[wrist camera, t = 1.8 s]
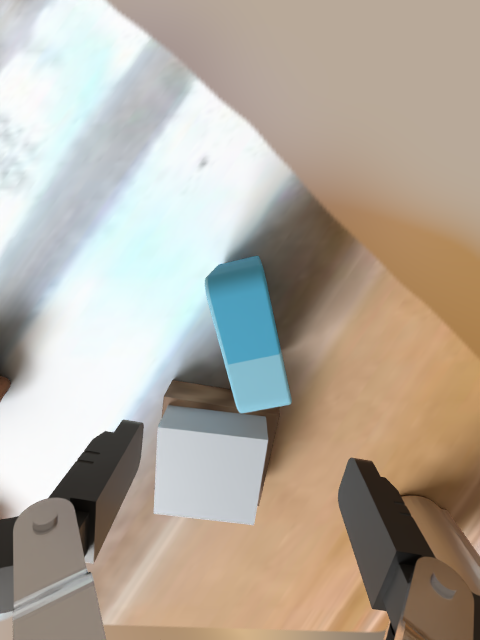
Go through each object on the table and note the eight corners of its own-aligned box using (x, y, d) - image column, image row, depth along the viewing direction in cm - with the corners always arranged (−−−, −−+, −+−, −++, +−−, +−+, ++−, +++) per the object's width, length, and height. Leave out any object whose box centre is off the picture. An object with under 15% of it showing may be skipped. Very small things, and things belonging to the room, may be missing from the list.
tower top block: (265, 416, 34) (268, 440, 30) (253, 494, 37) (254, 525, 33) (168, 405, 34) (157, 427, 30) (163, 484, 37) (153, 513, 33)
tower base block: (276, 394, 38) (279, 415, 34) (257, 477, 42) (258, 506, 37) (173, 377, 38) (163, 396, 34) (164, 463, 42) (154, 489, 37)
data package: (280, 354, 36) (294, 412, 25) (243, 362, 36) (239, 422, 25) (258, 254, 33) (263, 265, 21) (218, 263, 33) (201, 280, 22)
